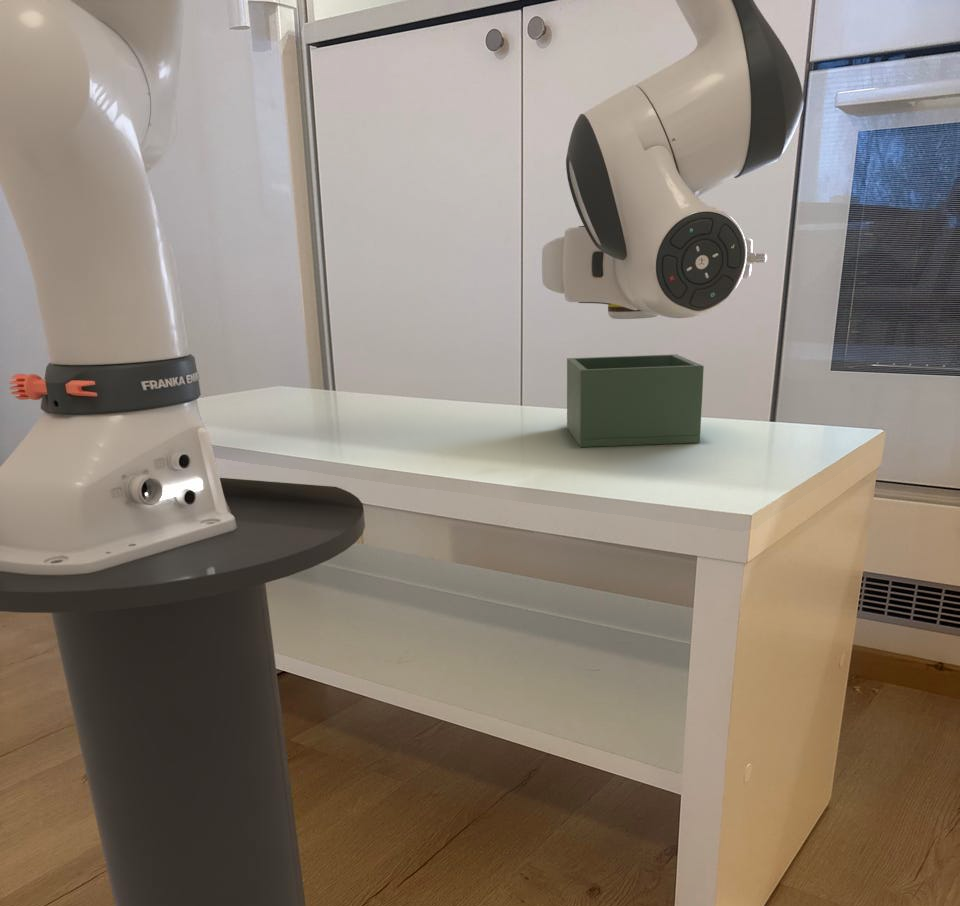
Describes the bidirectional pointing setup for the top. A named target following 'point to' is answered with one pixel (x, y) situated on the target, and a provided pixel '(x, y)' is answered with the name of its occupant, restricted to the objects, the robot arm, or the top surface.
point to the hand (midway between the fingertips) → (632, 262)
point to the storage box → (634, 400)
